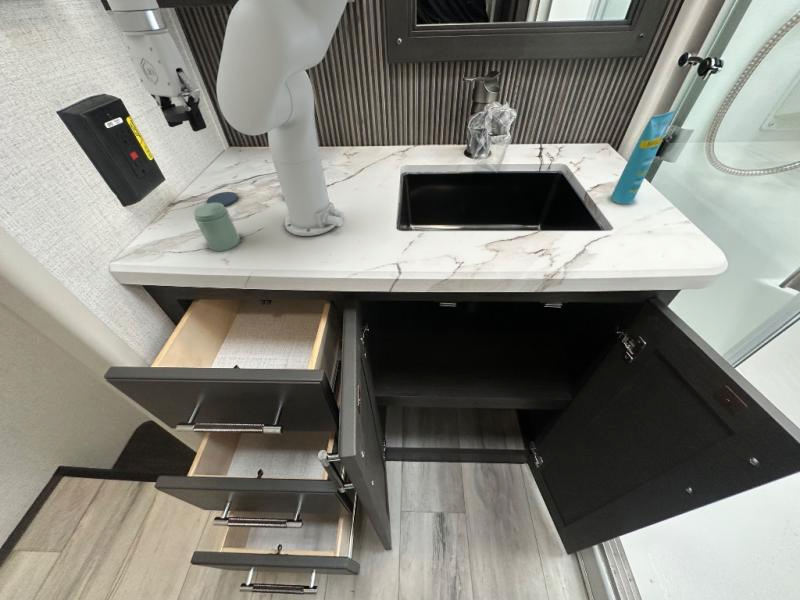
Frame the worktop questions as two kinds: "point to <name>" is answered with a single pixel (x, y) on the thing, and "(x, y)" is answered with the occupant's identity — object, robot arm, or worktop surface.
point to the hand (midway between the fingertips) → (187, 126)
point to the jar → (217, 226)
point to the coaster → (223, 198)
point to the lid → (175, 114)
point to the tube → (641, 159)
